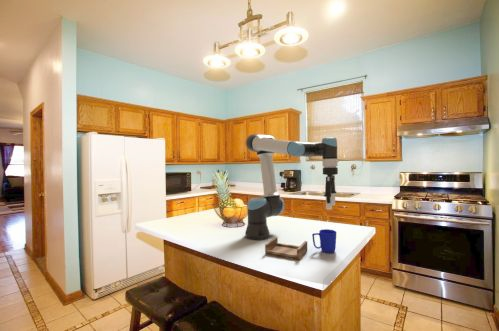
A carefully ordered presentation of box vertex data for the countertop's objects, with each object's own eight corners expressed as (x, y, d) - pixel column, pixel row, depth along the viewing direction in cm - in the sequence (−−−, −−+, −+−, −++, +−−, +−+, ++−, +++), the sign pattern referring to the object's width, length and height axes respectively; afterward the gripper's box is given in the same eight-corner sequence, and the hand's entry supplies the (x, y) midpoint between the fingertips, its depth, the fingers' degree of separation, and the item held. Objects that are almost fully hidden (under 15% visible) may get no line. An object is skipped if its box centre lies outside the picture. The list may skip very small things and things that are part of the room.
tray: (265, 254, 123) (265, 244, 123) (275, 246, 135) (275, 237, 135) (299, 260, 115) (299, 249, 115) (307, 251, 127) (307, 241, 127)
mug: (310, 249, 130) (309, 229, 130) (332, 248, 131) (332, 228, 131) (315, 254, 121) (315, 234, 121) (339, 253, 122) (339, 233, 122)
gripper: (334, 167, 118) (335, 212, 119) (340, 166, 141) (340, 204, 141) (318, 167, 122) (319, 211, 122) (326, 166, 144) (327, 203, 144)
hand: (330, 207), depth 131 cm, fingers open, 13 cm apart
